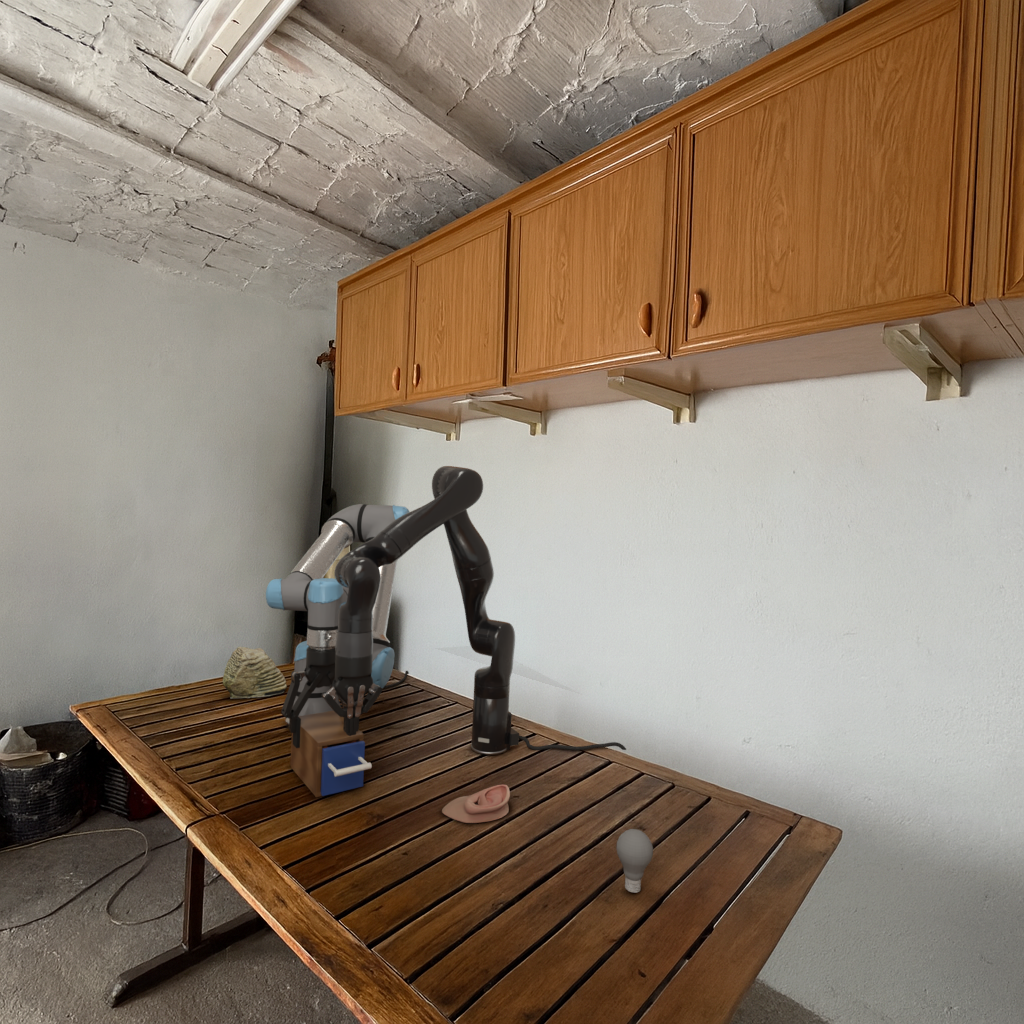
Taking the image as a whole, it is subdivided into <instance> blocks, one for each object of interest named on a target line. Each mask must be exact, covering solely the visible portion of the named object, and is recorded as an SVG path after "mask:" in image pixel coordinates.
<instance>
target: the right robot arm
mask: <svg viewBox="0 0 1024 1024" xmlns="http://www.w3.org/2000/svg"><path fill="white" fill-rule="evenodd" d="M431 491H432V495H433V499H432V500H430V501H429V502H427V503H426V504H424V505H422V506H420V507H418V508H416V509H413V510H411V511H410V512H409V513H407V514H405V515H403V516H401V517H399V518H398V519H396V520H395V521H393V522H392V523H391V524H389V525H388V526H387V527H386V528H384V529H383V530H382V531H381V532H380V533H379V534H377V535H376V536H375V537H374V538H373V539H371V540H369V541H368V542H365V543H361V544H360V545H358V546H356V547H355V548H353V549H352V550H350V551H348V552H347V553H346V554H344V555H343V556H342V557H341V558H340V559H339V560H338V562H337V563H336V565H335V568H334V572H333V573H334V579H336V580H337V582H338V583H339V584H340V585H342V586H343V587H346V588H349V590H348V596H347V601H346V602H343V603H342V604H341V605H340V607H339V613H338V633H337V638H336V647H335V652H336V655H335V679H334V681H333V683H332V688H331V689H330V690H329V691H327V692H323V693H322V697H323V698H324V700H325V701H326V702H327V703H328V704H329V706H330V707H331V708H332V709H333V710H334V712H335V713H336V714H338V715H339V716H340V717H344V725H343V726H344V727H343V730H344V732H345V733H346V734H347V735H348V736H351V735H356V732H357V731H358V730H359V729H360V717H361V715H362V714H367V713H368V712H369V711H370V709H371V708H372V707H373V705H374V704H375V702H376V701H377V699H378V698H379V696H380V695H381V694H382V692H383V689H382V688H381V687H380V686H378V685H376V684H374V683H373V678H372V676H371V673H372V656H373V635H372V625H373V608H374V605H375V602H376V598H377V595H378V591H379V587H380V579H381V577H380V570H379V567H381V566H383V565H388V564H392V563H394V562H396V561H397V562H398V560H400V559H401V558H402V557H403V556H404V555H405V554H406V553H408V552H409V551H410V550H411V549H412V548H413V547H414V546H416V545H417V544H418V543H419V542H420V541H422V540H423V539H424V538H425V537H427V536H428V535H429V534H431V533H432V532H434V531H435V530H437V529H438V528H439V527H441V526H443V527H444V531H445V534H446V538H447V542H448V546H449V549H450V552H451V553H450V554H451V557H452V563H453V567H454V571H455V575H456V578H457V582H458V587H459V590H460V594H461V598H462V604H463V608H464V614H465V620H466V630H467V636H468V637H467V638H468V642H469V645H470V647H471V649H472V651H473V652H475V653H476V654H479V655H483V656H488V657H491V659H490V664H489V666H484V667H480V668H478V669H476V670H475V672H474V677H473V678H474V680H473V700H472V701H473V704H472V705H473V706H472V723H471V724H472V727H471V731H472V732H471V744H470V750H471V751H473V752H474V753H476V754H479V755H483V756H497V755H502V754H504V753H506V752H507V751H510V750H511V747H514V746H519V743H520V740H521V741H523V742H525V745H526V747H527V748H528V749H530V750H533V751H544V750H551V749H553V750H555V749H556V750H567V751H588V750H593V749H601V748H602V749H603V748H608V747H609V748H610V747H617V748H619V749H621V750H622V751H627V748H626V747H625V745H623V744H622V743H620V742H616V741H611V742H605V743H595V744H588V745H582V746H580V745H579V746H575V745H574V746H572V745H563V744H546V745H541V746H535V745H532V744H531V743H530V740H529V739H528V738H527V737H525V736H523V735H520V732H519V731H517V730H515V729H514V728H513V727H512V719H513V718H512V714H513V713H512V712H510V691H511V690H510V689H511V676H512V674H513V669H514V660H515V659H514V658H515V648H516V630H515V627H514V625H512V624H511V623H510V622H507V621H503V620H497V619H491V618H489V616H488V612H487V608H486V598H487V596H488V594H489V592H490V589H491V587H492V584H493V582H494V577H495V570H494V566H493V562H492V556H491V553H490V549H489V547H488V545H487V543H486V542H485V540H484V538H483V537H482V535H481V533H480V532H479V531H478V530H477V528H476V527H475V525H474V524H473V522H472V520H471V517H470V516H469V513H468V509H470V508H471V507H473V506H474V505H475V504H476V503H477V502H478V501H479V500H480V499H481V498H482V495H483V491H484V481H483V478H482V476H481V474H480V473H479V472H477V470H474V469H471V468H468V467H461V466H453V465H444V466H443V465H442V466H441V467H439V468H437V470H435V472H434V473H433V476H432V478H431ZM368 690H369V692H368ZM335 693H337V694H338V696H339V697H340V698H341V699H342V703H341V704H342V705H343V707H340V706H339V705H338V704H337V702H336V701H335V699H336V695H335ZM341 708H343V709H341ZM359 731H360V730H359Z"/></svg>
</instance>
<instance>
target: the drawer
mask: <svg viewBox="0 0 1024 1024" xmlns="http://www.w3.org/2000/svg"><path fill="white" fill-rule="evenodd" d="M365 752H366V742H365V741H364V740H363V741H359V742H356V740H352V741H347V742H342V743H337V744H332V745H327V746H322V764H321V795H322V796H321V797H325V796H330V795H334V794H338V793H342V792H345V791H349V790H350V791H351V790H354V789H358V788H362V787H364V777H365V776H364V774H365V771H366V770H371V769H372V767H373V765H372V763H371V762H367V760H365Z"/></svg>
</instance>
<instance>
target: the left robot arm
mask: <svg viewBox="0 0 1024 1024" xmlns="http://www.w3.org/2000/svg"><path fill="white" fill-rule="evenodd" d="M409 512H411V511H410V510H409V508H407V507H406V506H402V505H395V504H392V505H389V504H388V505H387V504H366V503H357V504H353V505H350V506H347V507H345V508H343V509H341V510H339V511H338V512H336V513H334V514H332V516H330V517H329V518H328V519H327V520H326V522H324V524H323V525H322V526H321V531H320V535H319V536H318V537H317V538H316V540H315V541H314V542H313V544H312V545H311V546H310V547H309V548H308V549H307V551H306V553H305V554H304V555H302V557H301V559H300V560H299V561H298V563H297V564H296V565H295V566H294V568H293V569H292V570H291V572H289V574H288V575H287V576H286V577H285V578H282V577H280V578H274V579H272V580H270V581H269V582H268V584H267V586H266V590H265V601H266V604H267V606H268V607H269V608H271V609H275V610H283V611H297V612H307V630H306V631H307V632H306V640H304V641H302V642H299V643H298V644H297V645H296V647H295V654H294V659H293V661H294V670H293V671H291V673H290V675H291V676H290V678H291V679H290V680H291V681H290V684H289V687H288V690H287V693H286V696H285V699H284V702H283V705H282V707H281V711H280V715H282V716H283V717H284V718H285V726H286V728H287V729H288V731H289V732H290V733H291V734H292V733H293V745H294V746H295V747H296V748H300V727H301V719H300V718H299V717H298V716H304V715H310V714H316V713H322V712H328V711H334V710H333V709H332V708H331V707H330V706H329V704H328V703H327V702H326V701H325V700H324V698H323V697H322V693H323V692H327V691H329V690H330V689H331V688H332V683H333V681H334V679H335V655H336V652H335V647H336V638H337V633H338V613H339V607H340V605H341V604H342V603H343V602H346V601H347V596H348V590H349V588H346V587H343V586H342V585H340V584H339V583H338V582H337V580H336V579H335V578H334V577H333V578H332V577H325V575H326V574H327V573H328V571H329V570H330V569H331V568H332V566H333V565H334V563H335V562H336V560H337V559H338V557H339V556H340V555H341V553H342V552H343V550H344V549H348V548H349V547H350V546H351V545H352V544H354V543H361V544H364V543H365V542H368V541H369V540H371V539H373V538H374V537H375V536H376V535H377V534H379V533H380V532H381V531H382V530H383V529H384V528H386V527H387V526H388V525H389V524H391V523H392V522H393V521H395V520H396V519H398V518H399V517H401V516H403V515H405V514H407V513H409ZM397 566H398V560H397V561H396V562H394V563H392V564H388V565H383V566H381V567H379V570H380V577H381V579H380V587H379V591H378V595H377V598H376V602H375V605H374V608H373V625H372V635H373V656H372V673H371V676H372V678H373V683H374V684H376V685H378V686H380V687H381V688H382V690H383V689H388V688H389V689H390V688H392V687H395V686H398V685H400V684H402V683H403V682H404V681H406V679H407V677H408V675H409V674H410V672H409V670H405V671H404V676H403V677H402V678H401V679H400V680H399V681H397V682H394V683H391V684H388V683H389V681H390V678H391V677H392V676H391V675H392V673H393V671H394V666H395V657H396V655H395V650H394V648H392V647H390V645H391V641H390V640H389V639H388V638H387V629H388V624H389V616H390V611H391V603H392V597H393V591H394V586H395V585H394V584H395V580H396V579H395V578H396V573H397ZM368 692H369V690H368ZM368 692H367V693H368ZM335 695H336V699H335V701H336V702H337V704H338V705H339V706H340V707H341V709H343V705H342V699H341V698H340V697H339V696H338V694H337V693H335ZM343 718H344V717H343Z"/></svg>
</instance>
